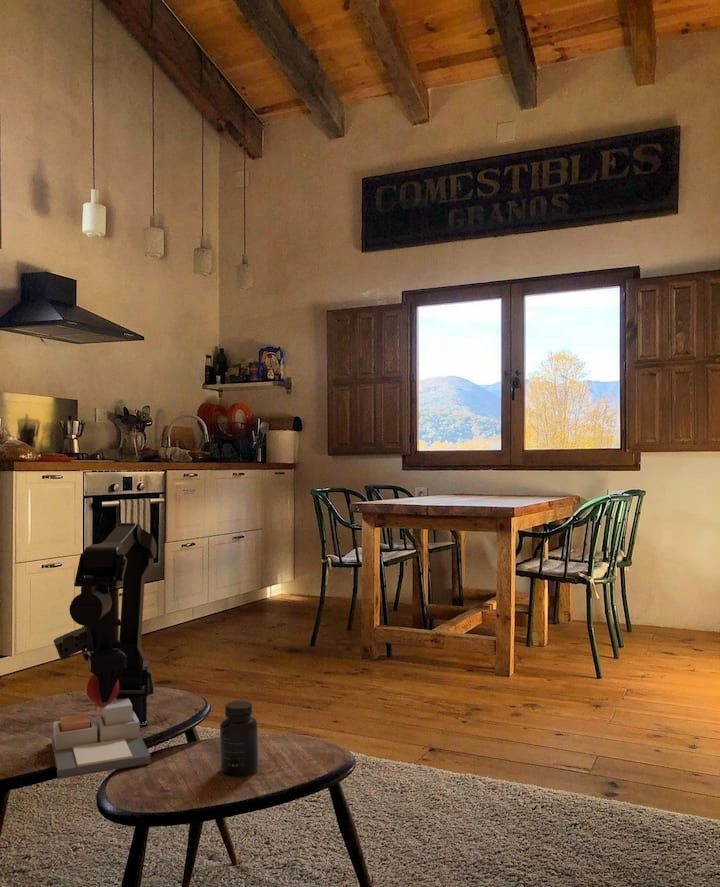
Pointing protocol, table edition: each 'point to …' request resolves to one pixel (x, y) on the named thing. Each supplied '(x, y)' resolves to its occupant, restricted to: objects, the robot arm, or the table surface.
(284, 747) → the table surface
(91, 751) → the board
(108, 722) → the block
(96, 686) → the onion
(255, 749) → the supplement bottle
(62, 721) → the reddish-brown block
